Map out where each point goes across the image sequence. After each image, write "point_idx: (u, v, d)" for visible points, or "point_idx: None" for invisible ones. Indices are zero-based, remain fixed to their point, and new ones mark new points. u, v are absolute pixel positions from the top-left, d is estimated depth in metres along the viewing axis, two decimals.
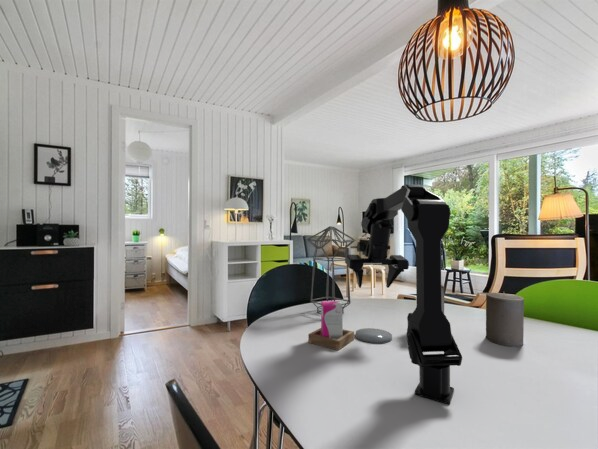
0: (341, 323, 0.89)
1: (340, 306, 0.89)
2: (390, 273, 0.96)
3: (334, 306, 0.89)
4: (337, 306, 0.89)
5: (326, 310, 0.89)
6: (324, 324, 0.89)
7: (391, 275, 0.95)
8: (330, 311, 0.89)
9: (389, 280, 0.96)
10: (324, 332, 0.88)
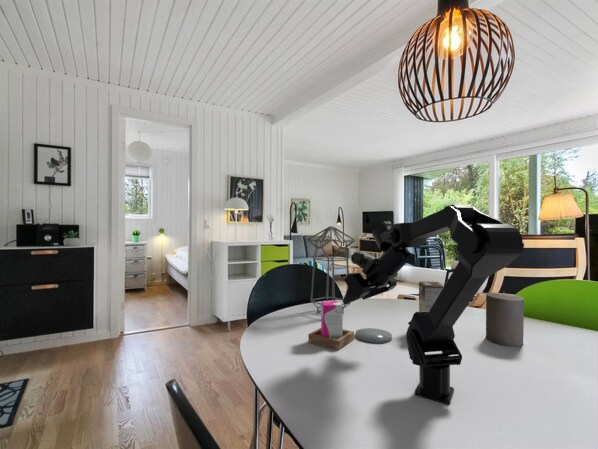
0: (341, 323, 0.89)
1: (340, 306, 0.89)
2: (373, 288, 0.87)
3: (334, 306, 0.89)
4: (337, 306, 0.89)
5: (326, 310, 0.89)
6: (324, 324, 0.88)
7: (374, 291, 0.87)
8: (330, 311, 0.89)
9: (369, 294, 0.88)
10: (324, 332, 0.88)
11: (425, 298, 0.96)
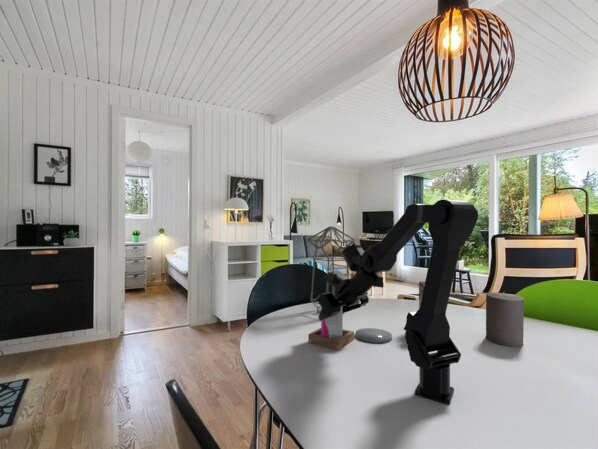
0: (341, 323, 0.89)
1: None
2: (346, 305, 0.93)
3: None
4: None
5: None
6: (324, 324, 0.89)
7: (347, 307, 0.93)
8: None
9: (342, 310, 0.94)
10: (324, 332, 0.88)
11: None
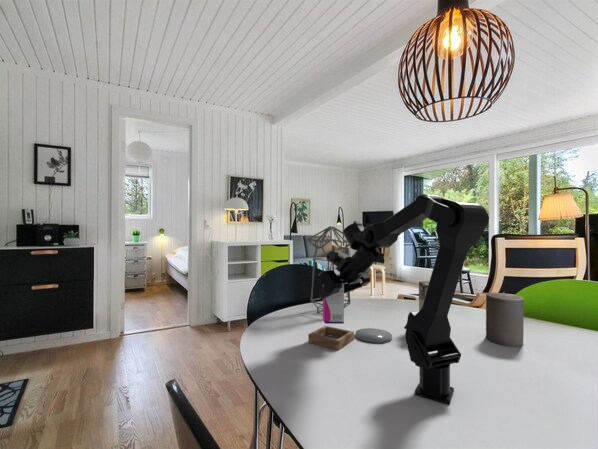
0: (342, 302, 0.89)
1: (342, 285, 0.89)
2: (347, 285, 0.93)
3: None
4: None
5: None
6: (325, 303, 0.89)
7: (348, 287, 0.93)
8: None
9: (344, 290, 0.94)
10: (325, 311, 0.89)
11: None
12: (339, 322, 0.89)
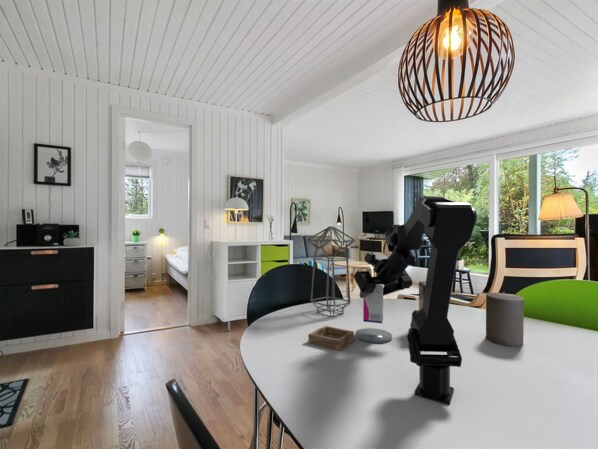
0: (381, 303, 0.92)
1: (380, 286, 0.92)
2: (389, 286, 0.95)
3: None
4: (377, 286, 0.93)
5: None
6: (364, 302, 0.94)
7: (390, 289, 0.95)
8: None
9: (386, 292, 0.96)
10: (364, 310, 0.93)
11: None
12: (377, 321, 0.92)
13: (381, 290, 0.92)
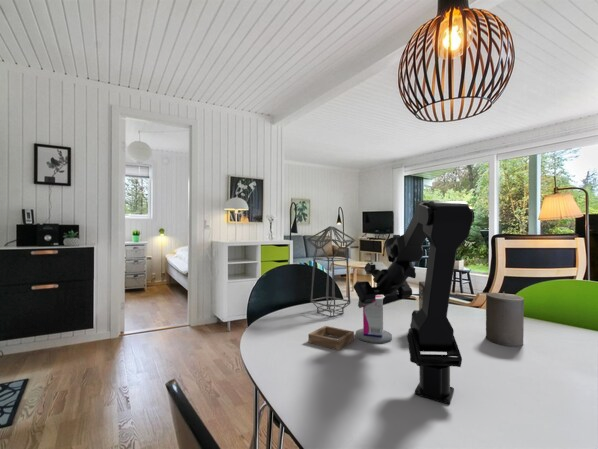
0: (381, 317, 0.92)
1: (380, 300, 0.92)
2: (390, 295, 0.96)
3: (374, 300, 0.93)
4: (377, 300, 0.93)
5: None
6: (364, 316, 0.94)
7: (391, 298, 0.95)
8: (370, 304, 0.93)
9: (387, 301, 0.97)
10: (364, 324, 0.93)
11: None
12: (377, 335, 0.92)
13: (381, 304, 0.92)
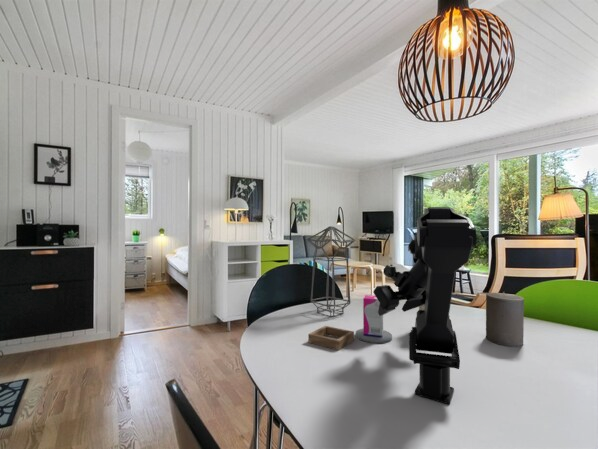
0: (381, 317, 0.92)
1: None
2: (412, 300, 0.87)
3: (374, 300, 0.93)
4: (377, 300, 0.93)
5: (366, 303, 0.94)
6: (364, 316, 0.94)
7: (413, 303, 0.87)
8: (370, 304, 0.93)
9: (409, 307, 0.88)
10: (364, 324, 0.93)
11: None
12: (378, 335, 0.92)
13: None
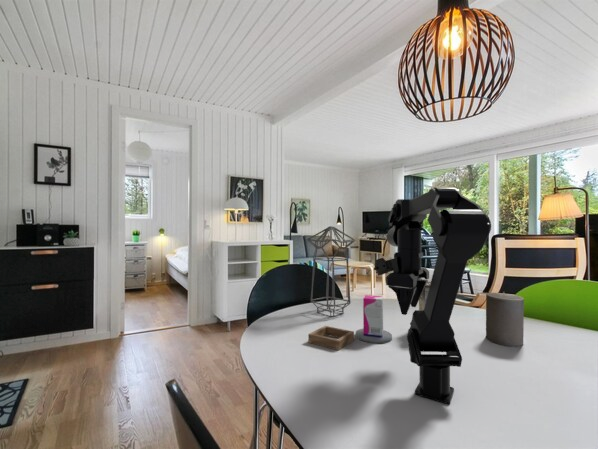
0: (381, 317, 0.92)
1: (380, 300, 0.92)
2: None
3: (374, 300, 0.93)
4: (377, 300, 0.93)
5: (366, 303, 0.94)
6: (364, 316, 0.94)
7: (417, 289, 0.81)
8: (370, 304, 0.93)
9: (416, 297, 0.80)
10: (364, 324, 0.93)
11: (425, 298, 0.96)
12: (378, 335, 0.92)
13: (381, 304, 0.92)
